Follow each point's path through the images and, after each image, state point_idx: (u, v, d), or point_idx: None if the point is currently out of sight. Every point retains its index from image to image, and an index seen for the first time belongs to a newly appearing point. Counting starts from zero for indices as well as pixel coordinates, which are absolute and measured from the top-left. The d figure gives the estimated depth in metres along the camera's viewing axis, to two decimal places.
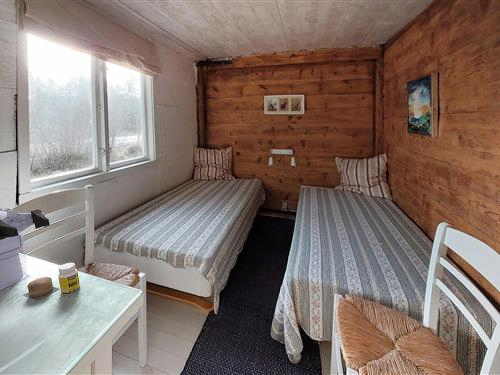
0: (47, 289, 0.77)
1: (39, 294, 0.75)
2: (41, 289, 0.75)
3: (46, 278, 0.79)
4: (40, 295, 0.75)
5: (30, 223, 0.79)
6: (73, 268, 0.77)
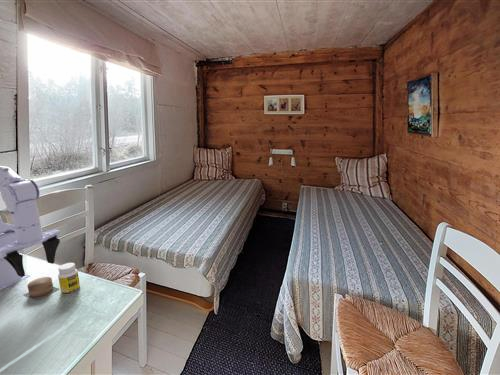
0: (47, 289, 0.77)
1: (39, 294, 0.75)
2: (41, 289, 0.75)
3: (46, 278, 0.79)
4: (40, 295, 0.75)
5: None
6: (73, 268, 0.77)
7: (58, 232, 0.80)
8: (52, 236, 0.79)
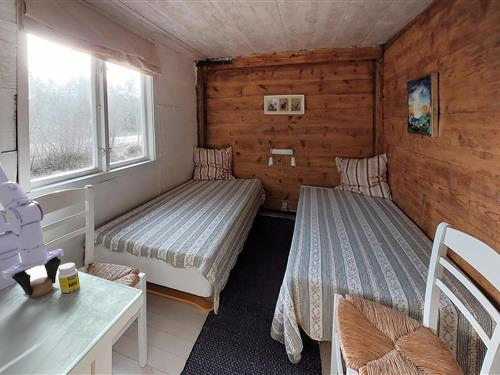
0: (47, 289, 0.77)
1: (39, 294, 0.75)
2: (41, 289, 0.75)
3: (46, 278, 0.79)
4: (40, 295, 0.75)
5: None
6: (73, 268, 0.77)
7: (62, 251, 0.81)
8: None
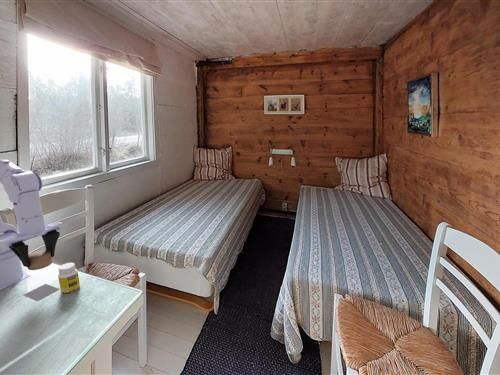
0: (46, 262, 0.75)
1: (38, 266, 0.73)
2: (40, 261, 0.73)
3: (45, 251, 0.77)
4: (39, 267, 0.73)
5: None
6: (73, 268, 0.77)
7: (60, 224, 0.79)
8: (54, 228, 0.79)
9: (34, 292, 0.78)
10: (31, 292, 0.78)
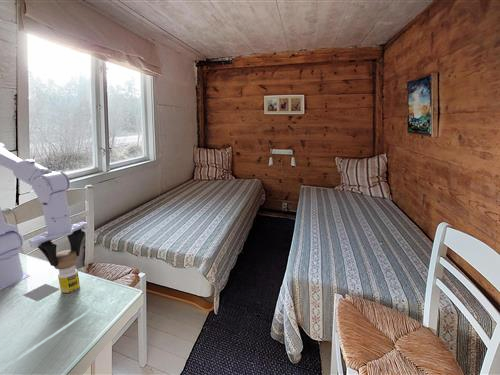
0: (72, 261, 0.76)
1: (65, 265, 0.74)
2: (67, 260, 0.74)
3: (70, 251, 0.78)
4: (66, 266, 0.74)
5: None
6: (73, 268, 0.77)
7: (85, 224, 0.80)
8: (79, 228, 0.79)
9: (34, 292, 0.78)
10: (31, 292, 0.78)
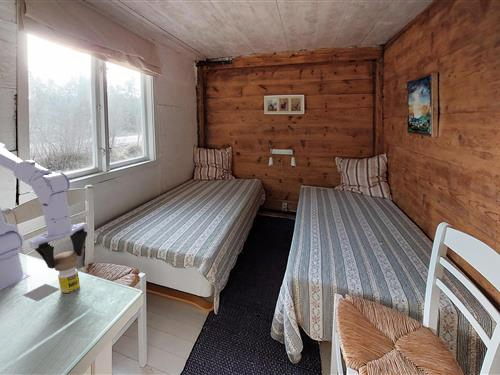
0: (73, 262, 0.76)
1: (65, 267, 0.74)
2: (67, 262, 0.74)
3: (71, 252, 0.78)
4: (66, 268, 0.75)
5: None
6: (73, 268, 0.77)
7: (85, 225, 0.80)
8: (80, 229, 0.79)
9: (34, 292, 0.78)
10: (31, 292, 0.78)
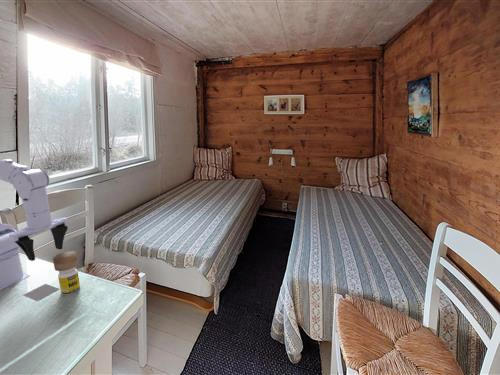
0: (73, 262, 0.76)
1: (65, 267, 0.74)
2: (67, 262, 0.74)
3: (70, 252, 0.78)
4: (66, 268, 0.75)
5: None
6: (73, 268, 0.77)
7: (66, 219, 0.84)
8: (60, 223, 0.83)
9: (34, 292, 0.78)
10: (31, 292, 0.78)
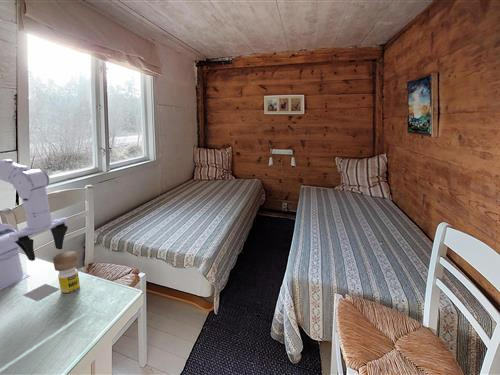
0: (73, 262, 0.76)
1: (65, 267, 0.74)
2: (67, 262, 0.74)
3: (70, 252, 0.78)
4: (66, 268, 0.75)
5: None
6: (73, 268, 0.77)
7: (66, 219, 0.84)
8: (60, 223, 0.83)
9: (34, 292, 0.78)
10: (31, 292, 0.78)
